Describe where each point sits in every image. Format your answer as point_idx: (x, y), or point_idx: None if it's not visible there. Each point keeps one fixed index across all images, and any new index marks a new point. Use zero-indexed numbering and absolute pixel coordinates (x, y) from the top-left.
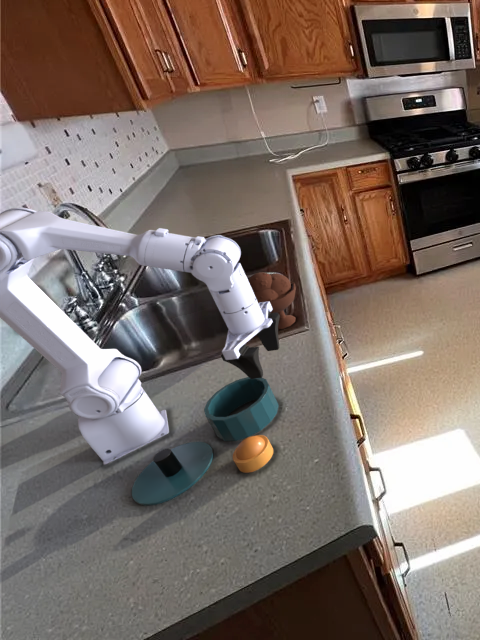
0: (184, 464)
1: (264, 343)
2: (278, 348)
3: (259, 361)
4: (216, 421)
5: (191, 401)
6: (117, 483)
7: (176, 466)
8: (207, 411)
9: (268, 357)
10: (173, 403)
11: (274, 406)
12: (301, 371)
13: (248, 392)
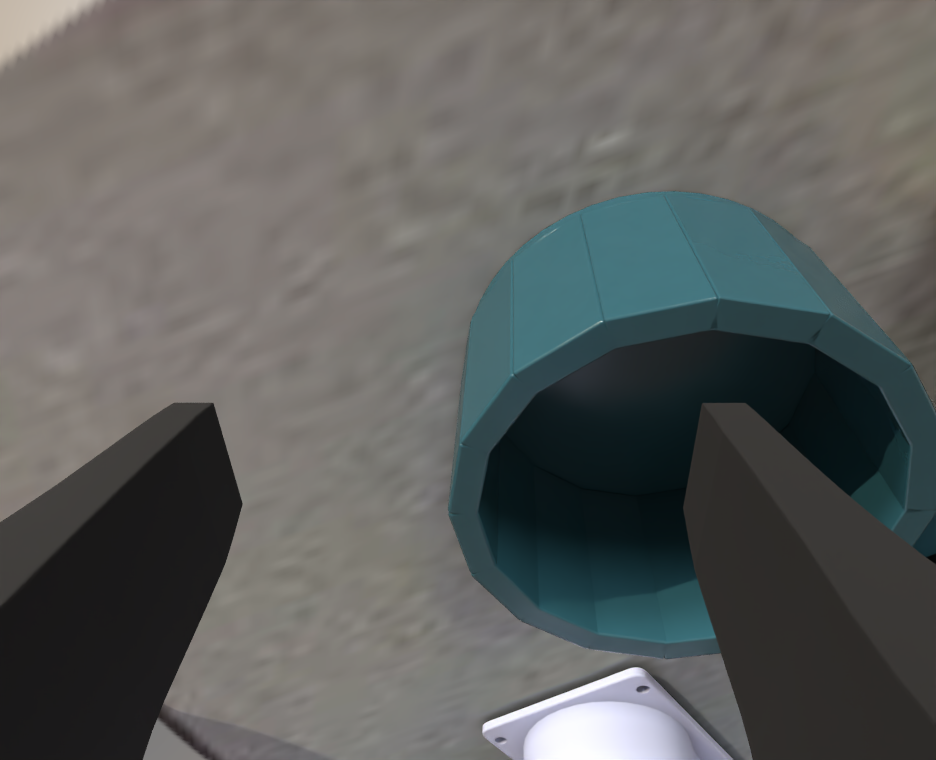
0: (926, 548)
1: (195, 599)
2: (193, 406)
3: (822, 555)
4: None
5: (432, 666)
6: None
7: None
8: None
9: (82, 462)
10: (435, 716)
11: (666, 219)
12: (195, 177)
13: (493, 456)
